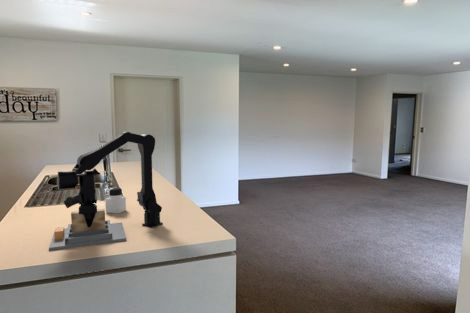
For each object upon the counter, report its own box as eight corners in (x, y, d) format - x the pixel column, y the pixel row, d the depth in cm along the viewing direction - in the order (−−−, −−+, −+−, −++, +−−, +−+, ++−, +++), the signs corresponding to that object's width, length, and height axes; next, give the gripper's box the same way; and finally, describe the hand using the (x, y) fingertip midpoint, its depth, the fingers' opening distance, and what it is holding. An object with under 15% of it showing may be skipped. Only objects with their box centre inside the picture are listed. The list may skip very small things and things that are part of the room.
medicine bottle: (126, 210, 172) (125, 187, 171) (118, 213, 166) (117, 189, 164) (114, 209, 174) (113, 186, 173) (105, 212, 168) (104, 189, 166)
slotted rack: (121, 224, 148) (121, 215, 148) (126, 240, 128) (126, 230, 128) (55, 231, 138) (54, 222, 138) (48, 250, 118) (48, 239, 118)
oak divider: (105, 227, 136) (104, 208, 136) (105, 230, 134) (104, 210, 133) (72, 231, 132) (71, 211, 131) (72, 234, 129) (71, 213, 128)
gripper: (66, 184, 137) (68, 221, 138) (62, 193, 119) (64, 235, 121) (95, 182, 141) (97, 218, 142) (96, 190, 124) (97, 231, 125)
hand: (89, 225), depth 133 cm, fingers closed on oak divider, 3 cm apart
